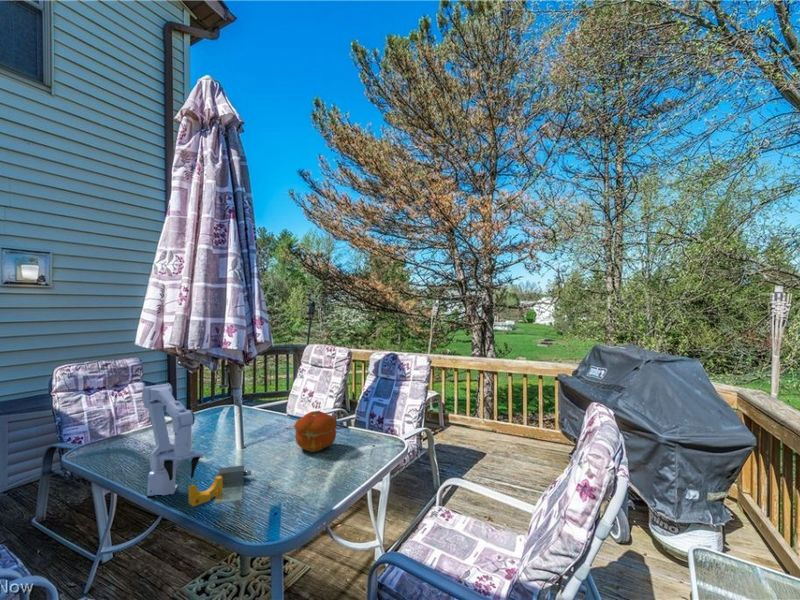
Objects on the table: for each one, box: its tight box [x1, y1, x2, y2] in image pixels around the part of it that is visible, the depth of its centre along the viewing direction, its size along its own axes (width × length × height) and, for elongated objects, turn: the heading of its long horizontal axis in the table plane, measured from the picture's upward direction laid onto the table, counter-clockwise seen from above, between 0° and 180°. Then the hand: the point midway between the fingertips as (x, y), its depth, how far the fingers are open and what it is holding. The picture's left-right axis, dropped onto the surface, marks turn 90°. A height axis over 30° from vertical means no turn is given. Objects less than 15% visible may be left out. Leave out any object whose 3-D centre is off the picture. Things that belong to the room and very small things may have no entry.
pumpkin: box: [294, 410, 338, 453], centre depth 207 cm, size 23×23×20 cm
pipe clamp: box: [188, 475, 223, 507], centre depth 151 cm, size 12×4×6 cm, turn 141°
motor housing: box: [213, 465, 252, 505], centre depth 160 cm, size 13×22×5 cm, turn 20°
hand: (181, 478), depth 148 cm, fingers open, 7 cm apart
